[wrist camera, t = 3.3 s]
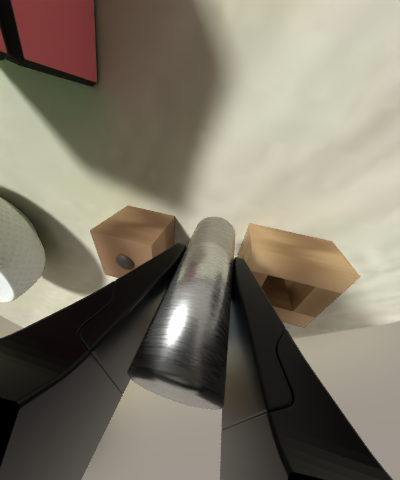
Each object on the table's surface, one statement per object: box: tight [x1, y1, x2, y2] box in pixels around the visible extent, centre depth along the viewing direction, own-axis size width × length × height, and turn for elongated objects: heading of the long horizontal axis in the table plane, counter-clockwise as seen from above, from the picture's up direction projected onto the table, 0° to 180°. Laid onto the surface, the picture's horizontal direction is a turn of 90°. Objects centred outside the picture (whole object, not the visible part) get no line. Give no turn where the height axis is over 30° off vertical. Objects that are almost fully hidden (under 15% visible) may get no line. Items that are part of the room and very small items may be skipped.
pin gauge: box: [127, 217, 235, 409], centre depth 7 cm, size 2×2×7 cm
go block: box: [237, 224, 360, 327], centre depth 14 cm, size 7×7×4 cm
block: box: [90, 206, 175, 278], centre depth 15 cm, size 5×5×5 cm
